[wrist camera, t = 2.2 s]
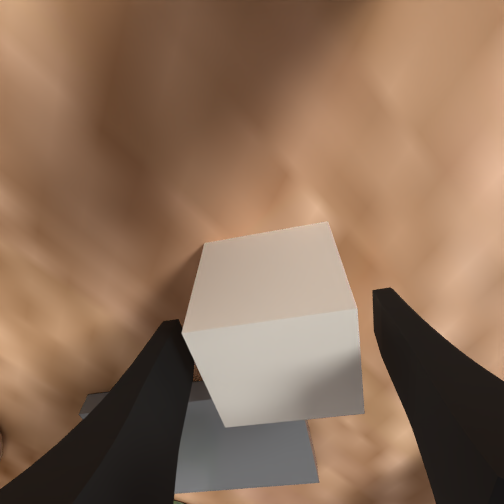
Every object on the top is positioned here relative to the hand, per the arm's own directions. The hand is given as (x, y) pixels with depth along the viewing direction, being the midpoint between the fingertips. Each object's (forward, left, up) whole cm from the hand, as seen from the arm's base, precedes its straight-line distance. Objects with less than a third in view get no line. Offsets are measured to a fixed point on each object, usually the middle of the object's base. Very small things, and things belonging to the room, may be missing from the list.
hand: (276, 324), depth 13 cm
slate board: (+6, +11, -3) cm, 13 cm away
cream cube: (0, 0, -3) cm, 3 cm away
